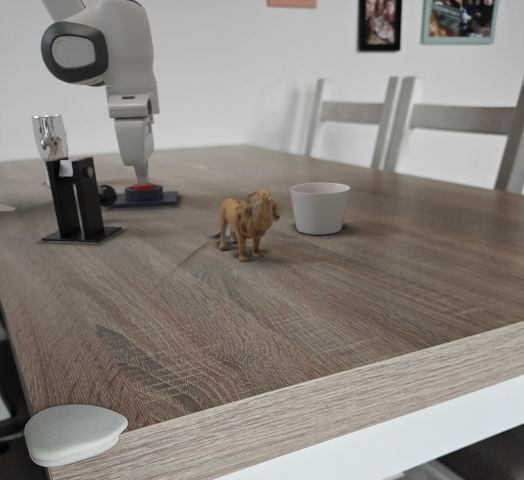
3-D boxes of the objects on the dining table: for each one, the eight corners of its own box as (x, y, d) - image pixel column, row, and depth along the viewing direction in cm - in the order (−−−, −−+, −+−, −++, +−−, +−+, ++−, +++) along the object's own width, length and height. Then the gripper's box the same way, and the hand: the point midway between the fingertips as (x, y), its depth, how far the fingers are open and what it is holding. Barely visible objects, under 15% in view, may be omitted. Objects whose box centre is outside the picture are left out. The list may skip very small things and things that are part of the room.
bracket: (71, 232, 88) (56, 155, 83) (122, 234, 86) (111, 155, 81) (42, 246, 81) (24, 162, 76) (98, 248, 79) (83, 163, 74)
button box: (109, 213, 100) (106, 194, 98) (118, 202, 109) (115, 184, 107) (176, 210, 101) (174, 190, 99) (179, 199, 110) (177, 181, 108)
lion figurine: (289, 260, 72) (288, 189, 68) (255, 268, 69) (253, 195, 65) (229, 237, 83) (225, 175, 79) (198, 244, 80) (193, 180, 76)
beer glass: (53, 188, 125) (39, 117, 118) (38, 185, 129) (24, 116, 122) (81, 184, 129) (69, 114, 123) (65, 181, 134) (53, 114, 127)
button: (132, 196, 102) (131, 187, 101) (135, 192, 106) (133, 183, 105) (154, 196, 102) (153, 186, 101) (156, 191, 106) (155, 182, 105)
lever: (99, 210, 91) (102, 189, 91) (119, 210, 90) (122, 189, 91) (53, 180, 78) (56, 155, 79) (76, 180, 78) (79, 155, 78)
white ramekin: (338, 221, 90) (339, 181, 87) (356, 235, 82) (358, 191, 79) (284, 225, 89) (284, 184, 86) (297, 239, 81) (297, 195, 78)
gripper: (123, 102, 106) (133, 176, 112) (105, 107, 88) (118, 195, 94) (156, 100, 106) (164, 175, 113) (145, 105, 88) (155, 194, 94)
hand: (143, 184), depth 103 cm, fingers closed, pressing on button
